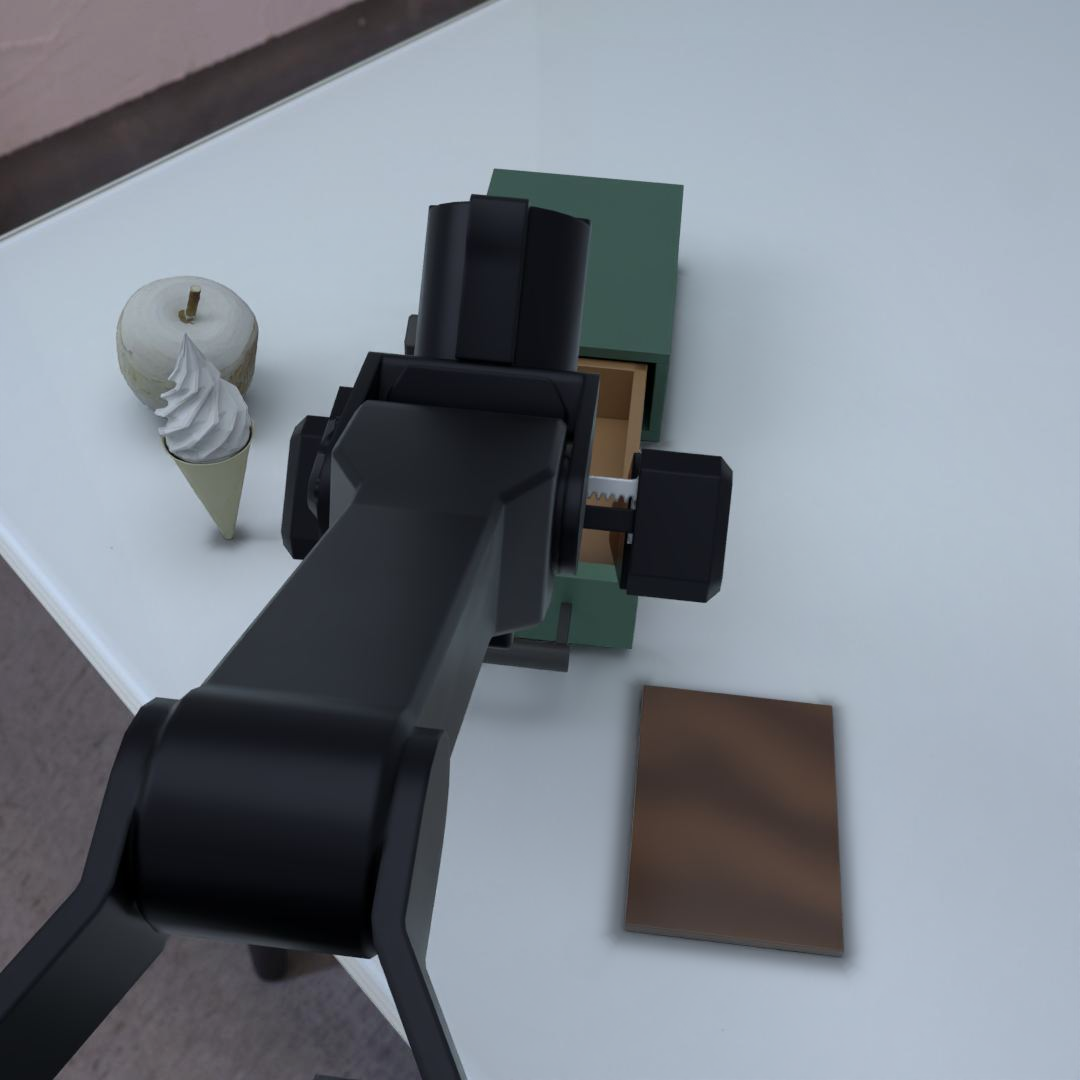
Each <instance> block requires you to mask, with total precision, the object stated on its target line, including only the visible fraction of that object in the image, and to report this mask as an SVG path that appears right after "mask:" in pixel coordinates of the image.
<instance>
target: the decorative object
mask: <svg viewBox="0 0 1080 1080" xmlns="http://www.w3.org/2000/svg"><path fill="white" fill-rule="evenodd" d="M119 314H120V315H119V318H118V321H117V325H116V333H115V344H116V346H115V347H116V355H117V362H118V367H119V371H120V373H121V375H122V376H123V378H124V381H125V382H126V384H127V386H128V388H129V389H130V390H131V391H132V393H133V394H134V396H135V397H136V398H137V399H138V400H139V402H141V403H142V404H143V405H144V406H146V408H148V409H149V411H150V410H151V411H152V412H154V413H155V411H156V409H161V408H165V407H166V406H168V401H167V400H166V399H163V398H160V397H161V394H163V393H166V392H168V391H170V390H172V389H174V388H175V387H176V385H177V383H176V382H175V381H169V380H168V378H169V376H170V375H171V374H172V373H173V371H174V370H175V369H174V367H175V364H176V362H177V359H178V355H179V352H180V349H181V345H182V342H183V338H184V334H185V333H187V335H188V337H189V338H190V339H191V340H192V342H193V343H194V344H195V345H196V346H197V348H198V349H199V350H200V351H201V353H202V354H203V355H204V356H205V357H206V359H207V360H209V361H210V362H212V363H213V365H214V367H215V368H216V369H217V370H218V371H219V372H220V373H221V374H220V378H221V379H223V380H225V381H227V382H229V383H231V384H233V385H235V386H236V387H237V388H238V390H239V392H240V394H241V396H242V398H244V397H245V395H246V394H247V393H248V391H249V389H250V387H251V385H252V382H253V380H254V375H255V369H256V360H257V359H256V358H257V352H258V342H259V324H258V321H257V317H256V315H255V313H254V311H253V310H252V309H251V307H250V306H249V305H248V304H247V302H245V300H244V299H243V298H242V297H241V296H240V295H238V294H237V293H236V292H235V291H234V290H233V289H231V288H229V287H228V286H226V285H224V284H223V283H220V282H219V281H218V282H217V281H215V280H213V279H210V278H207V277H203V276H197V275H176V276H170V277H163V278H160V279H156V280H153V281H151V282H149V283H146V284H145V285H143V286H141V287H140V288H138V289H137V290H136V291H135V292H134V293H133V294H132V295H130V297H129V298H128V300H127V301H126V303H125V304H124V306H123V308H122V310H121V312H120V313H119ZM164 419H167V418H166V417H164Z"/></svg>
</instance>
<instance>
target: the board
mask: <svg viewBox="0 0 1080 1080" xmlns="http://www.w3.org/2000/svg"><path fill="white" fill-rule="evenodd" d="M642 689H643V690H642V697H641V699H642V700H641V711H640V721H639V723H640V724H639V737H638V749H637V761H636V775H635V785H634V798H633V799H634V800H633V811H632V824H631V837H630V849H629V861H628V875H627V887H626V899H625V911H624V924H623V929H624V931H627V932H635V933H636V932H637V933H644V934H651V935H652V934H653V935H659V936H667V937H675V938H683V939H693V940H700V941H709V942H717V943H725V944H733V945H741V946H749V947H758V948H766V949H772V950H773V949H774V950H781V951H788V952H789V951H790V952H798V953H805V954H806V953H808V954H814V955H823V956H829V957H839V958H840V957H842V956H843V954H844V951H845V946H844V926H843V924H844V923H843V905H842V885H841V884H842V881H841V862H840V861H841V860H840V841H839V840H840V839H839V838H840V837H839V817H838V797H837V776H836V775H837V774H836V756H835V732H834V713H833V712H834V709H833V705H831V704H830V705H829V704H821V703H812V702H803V701H802V702H801V701H795V700H784V699H776V698H768V697H757V696H750V695H749V696H748V695H741V694H740V695H739V694H731V693H721V692H712V691H704V690H694V689H685V688H676V687H669V686H668V687H667V686H660V685H659V686H658V685H650V684H644V685H643V688H642Z"/></svg>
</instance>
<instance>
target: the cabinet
mask: <svg viewBox="0 0 1080 1080" xmlns="http://www.w3.org/2000/svg"><path fill="white" fill-rule="evenodd" d="M684 189H685V186H684V184H679V183H666V182H655V181H644V180H632V179H621V178H608V177H597V176H586V175H577V174H576V175H575V174H566V173H565V174H564V173H563V174H562V173H553V172H552V173H551V172H543V171H529V170H518V169H507V168H496V167H495V168H493V170H492V174H491V177H490V180H489V184H488V188H487V191H486V195H491V196H502V197H513V198H525V199H529V201H530V205H531V206H534V207H539V208H544V209H548V210H553V211H557V212H560V213H564V214H567V215H570V216H573V217H575V218H584V219H589V220H591V223H592V230H591V240H590V249H589V259H588V269H587V278H586V288H585V298H584V307H583V317H582V327H581V336H580V346H579V355H578V357H579V358H589V359H599V360H610V361H620V362H631V363H641V364H647V365H648V367H647V378H646V388H645V398H644V408H643V419H642V429H641V439H640V441H646V442H658V443H659V442H660V441H661V433H662V432H661V431H662V426H663V418H664V411H665V402H666V395H667V394H666V393H667V386H668V377H669V371H670V362H671V354H672V353H671V352H672V343H673V341H672V340H673V329H674V315H675V306H676V305H675V303H676V290H677V289H676V288H677V277H678V265H679V253H680V239H681V228H682V217H683V204H684V203H683V202H684Z"/></svg>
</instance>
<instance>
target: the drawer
mask: <svg viewBox="0 0 1080 1080" xmlns="http://www.w3.org/2000/svg"><path fill="white" fill-rule="evenodd" d="M647 367H648V365H647V364H641V363H631V362H620V361H610V360H599V359H589V358H579V357H578V365H577V371H578V372H589V373H599V374H600V385H599V395H598V404H597V414H596V424H595V433H594V442H593V450H592V458H591V466H590V475H591V476H601V477H611V478H621V479H627V478H628V474H629V470H630V466H631V462H632V458H633V454H634V453H640V447H641V440H640V439H641V429H642V419H643V408H644V398H645V388H646V378H647ZM614 501H615V499H614V495H611V497H610V499H609V501H606V499H605V495H604V494H602V495H601V498H600V500H596V496H595V493H593V494H592V496H591V498H590V499H586V505H594V506H604V507H612V504H613V502H614ZM609 532H610V531H603V530H593V529H584V528H583V531H582V539H581V547H580V555H579V562H578V569H577V574H576V576H572V575H562V574H555V580H554V587H553V592H552V597H551V601H550V604H549V607H548V609H547V612H546V615H545V618H544V620H543V621H542V622H541V623H540V624H538V625H537V626H536V627H534V628H530V629H525V630H521V631H516V632H514V638H513V644H512V647H511V648H510V649H507V650H505V649H496V648H487V650H486V653H485V656H484V659H483V662H482V664H485V665H486V664H488V665H498V666H505V667H513V668H514V667H515V668H522V669H523V668H524V669H533V670H542V671H549V672H550V671H551V672H560V673H568V672H569V667H570V657H571V645H570V644H575V645H585V646H595V647H603V648H613V649H623V650H633V645H634V637H635V628H636V622H637V621H636V620H637V612H638V611H637V610H638V604H639V598H640V596H633V595H626V591H627V590H622V589H620V588H619V584H618V579H617V575H616V570H615V566H614V561H613V557H612V552H611V548H610V543H609ZM518 638H519V639H518ZM529 639H531V640H529ZM536 640H541V641H536ZM547 641H548V642H547ZM549 641H550V642H549Z"/></svg>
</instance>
